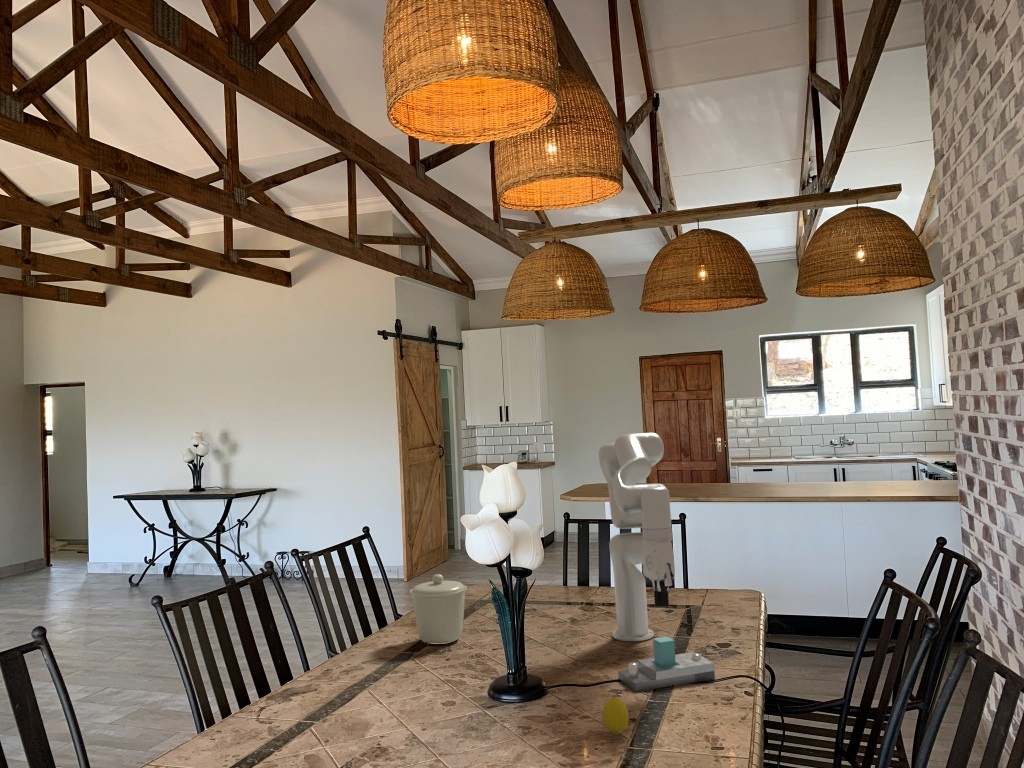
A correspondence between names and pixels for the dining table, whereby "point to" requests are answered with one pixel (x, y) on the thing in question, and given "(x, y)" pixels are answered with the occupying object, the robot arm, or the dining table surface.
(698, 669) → the grey slotted base
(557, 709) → the dining table surface
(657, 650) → the pin
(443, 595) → the canister
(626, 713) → the lemon
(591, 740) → the dining table surface
